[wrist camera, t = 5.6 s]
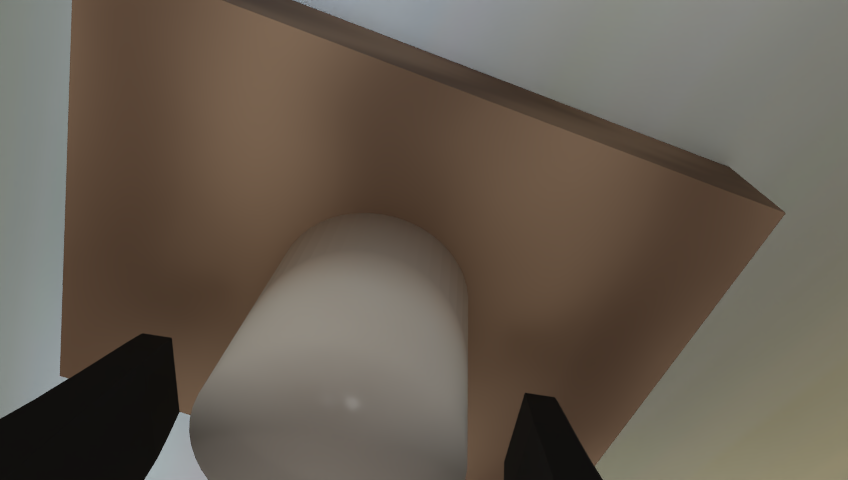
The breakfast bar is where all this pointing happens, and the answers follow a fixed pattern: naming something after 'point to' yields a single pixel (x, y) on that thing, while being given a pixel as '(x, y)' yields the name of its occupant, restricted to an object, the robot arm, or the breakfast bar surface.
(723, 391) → the breakfast bar surface
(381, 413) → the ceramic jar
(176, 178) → the walnut block
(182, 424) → the breakfast bar surface
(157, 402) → the robot arm
